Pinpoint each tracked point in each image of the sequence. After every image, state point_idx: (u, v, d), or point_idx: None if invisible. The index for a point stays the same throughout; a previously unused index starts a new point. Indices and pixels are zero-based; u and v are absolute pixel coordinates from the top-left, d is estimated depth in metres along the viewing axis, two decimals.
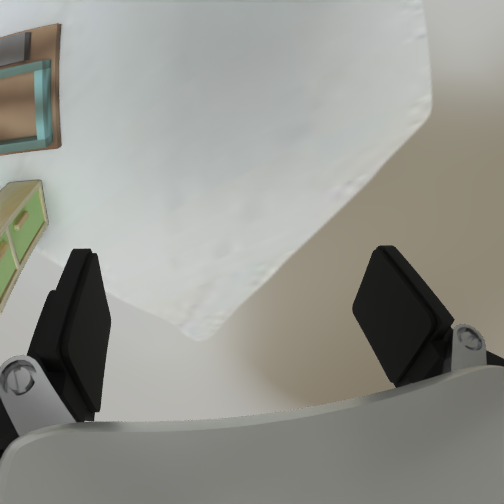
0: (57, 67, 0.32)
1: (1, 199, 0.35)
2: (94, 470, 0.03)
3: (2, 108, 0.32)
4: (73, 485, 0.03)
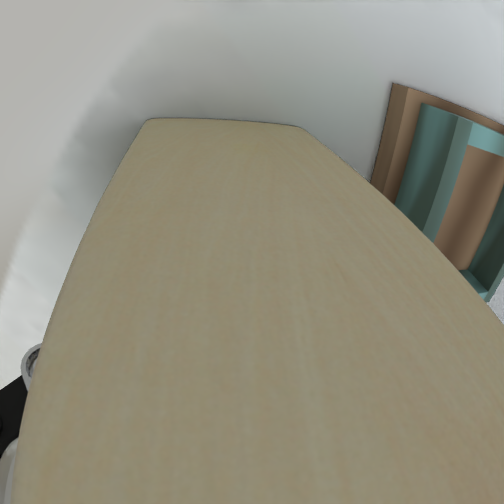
0: None
1: None
2: None
3: (467, 185, 0.18)
4: None
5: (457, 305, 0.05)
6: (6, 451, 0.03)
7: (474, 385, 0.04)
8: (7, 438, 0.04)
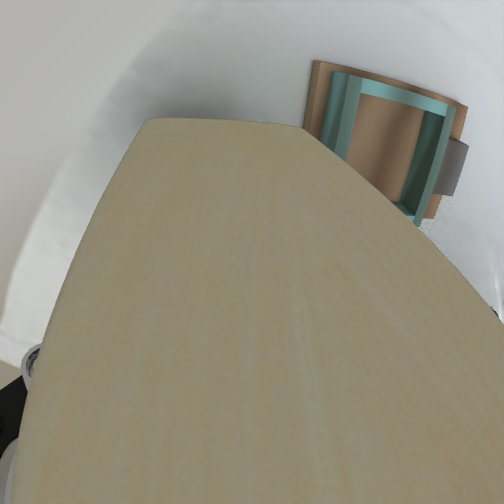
0: None
1: None
2: None
3: (382, 129, 0.26)
4: None
5: (456, 304, 0.05)
6: (6, 451, 0.03)
7: (474, 383, 0.04)
8: (7, 438, 0.04)
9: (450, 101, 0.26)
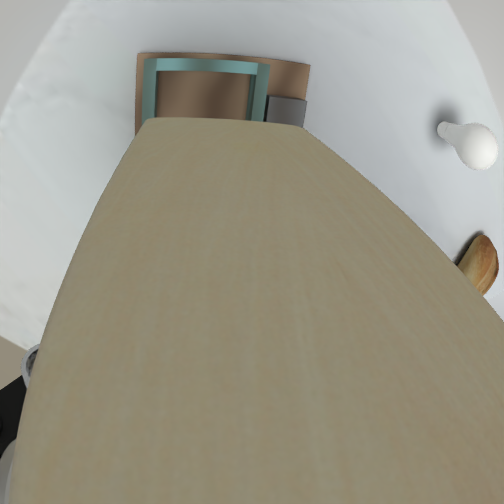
0: None
1: None
2: None
3: (204, 98, 0.31)
4: None
5: (459, 304, 0.05)
6: (6, 451, 0.03)
7: (476, 384, 0.03)
8: (7, 438, 0.04)
9: (283, 62, 0.30)
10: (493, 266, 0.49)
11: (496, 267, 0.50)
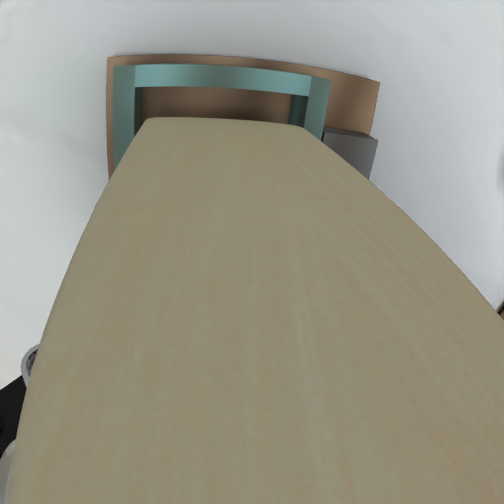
0: None
1: None
2: None
3: None
4: None
5: (459, 304, 0.05)
6: (6, 451, 0.03)
7: (477, 384, 0.03)
8: (7, 438, 0.04)
9: (342, 75, 0.19)
10: None
11: None
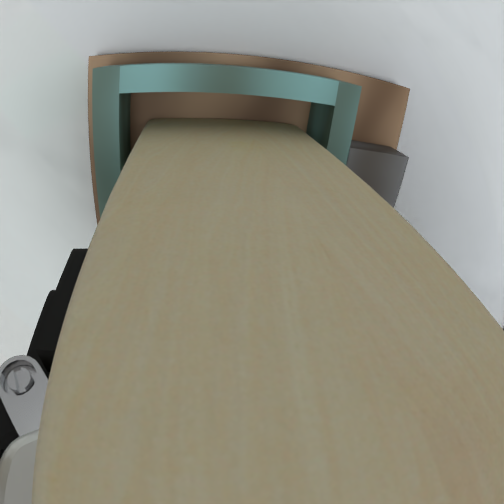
0: None
1: None
2: None
3: None
4: None
5: (432, 280, 0.06)
6: (6, 451, 0.03)
7: (445, 347, 0.04)
8: None
9: (369, 80, 0.16)
10: None
11: None
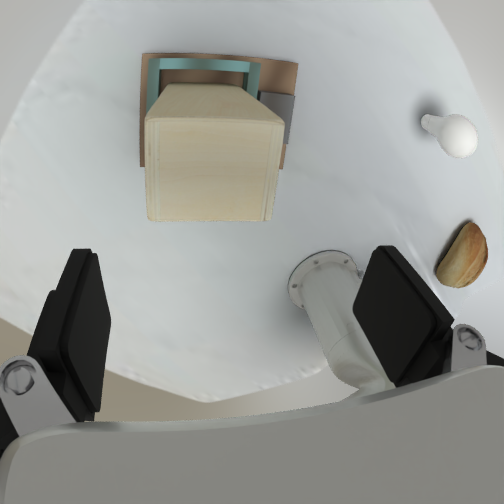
0: None
1: None
2: (94, 470, 0.03)
3: None
4: (73, 485, 0.03)
5: (245, 98, 0.23)
6: (6, 451, 0.03)
7: (236, 101, 0.22)
8: None
9: (273, 61, 0.33)
10: (482, 252, 0.52)
11: (485, 254, 0.53)
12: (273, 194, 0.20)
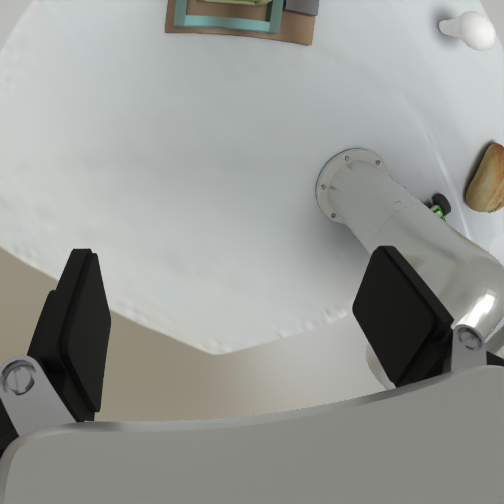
0: (260, 37, 0.34)
1: None
2: (94, 470, 0.03)
3: None
4: (73, 485, 0.03)
5: None
6: (6, 451, 0.03)
7: None
8: None
9: None
10: None
11: None
12: None
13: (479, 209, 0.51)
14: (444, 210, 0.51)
